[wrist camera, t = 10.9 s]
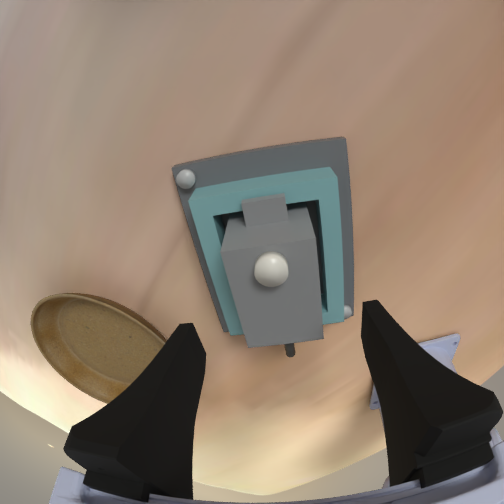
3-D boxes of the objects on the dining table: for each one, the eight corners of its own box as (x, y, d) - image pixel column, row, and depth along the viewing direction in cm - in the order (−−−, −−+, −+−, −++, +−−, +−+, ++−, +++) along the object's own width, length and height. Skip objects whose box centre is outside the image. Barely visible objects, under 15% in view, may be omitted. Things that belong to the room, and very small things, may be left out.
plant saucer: (41, 345, 26) (30, 362, 24) (51, 242, 20) (33, 260, 17) (161, 406, 30) (156, 425, 28) (222, 332, 23) (218, 358, 21)
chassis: (351, 310, 21) (358, 334, 19) (224, 326, 22) (221, 350, 20) (343, 136, 15) (355, 146, 13) (174, 165, 16) (161, 178, 14)
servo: (317, 327, 21) (326, 386, 17) (261, 334, 22) (259, 393, 17) (301, 177, 16) (314, 218, 12) (226, 189, 16) (210, 233, 12)
